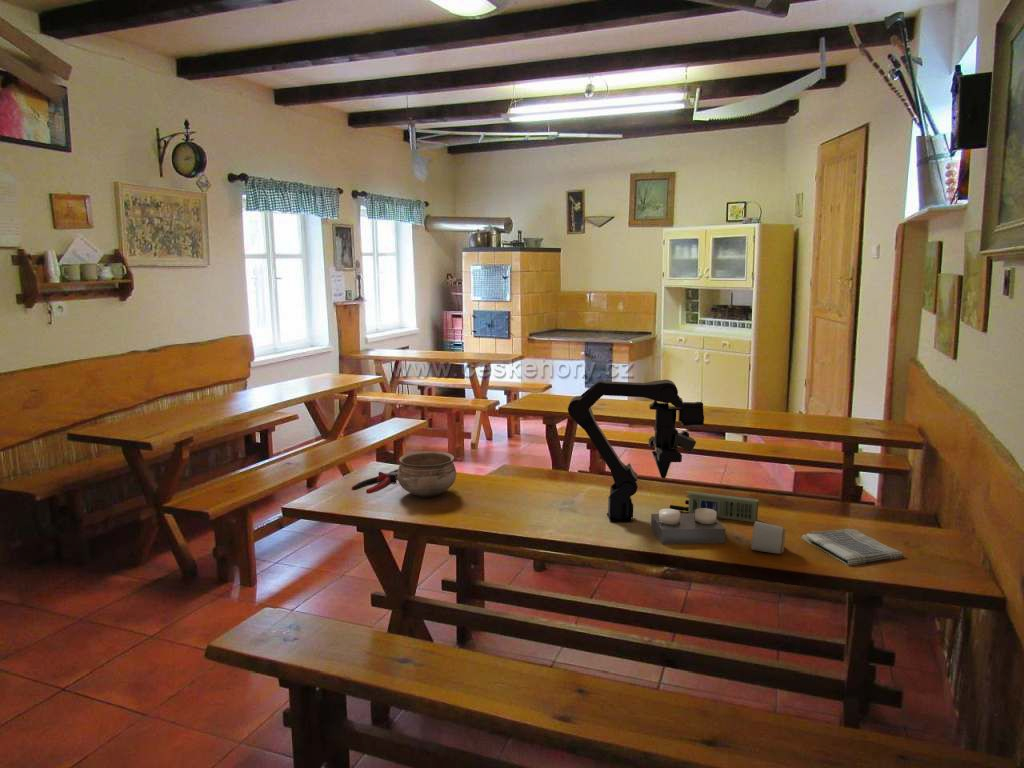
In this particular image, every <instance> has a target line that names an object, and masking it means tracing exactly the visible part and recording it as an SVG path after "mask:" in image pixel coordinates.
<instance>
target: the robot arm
mask: <svg viewBox="0 0 1024 768" xmlns="http://www.w3.org/2000/svg"><path fill="white" fill-rule="evenodd" d="M603 396H608V397H609V396H610V397H612V396H613V397H628V398H630V397H631V398H646V399H649V400H652V401H653V402H652V403H650V404H649V405H648V407H649V408H648V409H649V410H652V411H653V410H654V411H655V420H654V421H655V423H654V426H653V431H654V436H653V435H652V436H651V437H650V438H648V445H647V446H648V447H649V448H653V447H654V450H653V451H652V450H651V454H652V456H653V458H654V461H655V465H656V467H657V470H658V472H659V475H660V478H661V479H666V478H667V476H668V472H669V468H670V465H671V463H683V461H682V460H683V459H682V458H683V454H682V453H681V452H680V451H679V450H678V449H679V448H682V449H685V450H687V451H688V452H690V453H693V451H694V449H695V446H696V444H697V441H696V440H695V439H694V438H693V437H691V436H690V433H689V431H686V430H681V431H680V432H679V431H678V429H677V428H676V427H677V421H678V423H681V425H682V426H684V427H685V426H686V427H689V426H690V427H703V426H704V423H705V415H704V403H703V401H695V402H693V401H684V400H683V399H682V397H680V396H679V390H678V388H677V386H676V383H674V382H673V381H672V380H671V379H660V380H653V381H649V382H630V381H629V382H628V381H627V382H626V381H611V380H610V381H609V380H602V379H601V380H599V379H598V380H597V381H595V383H594V384H593V385H591V387H589V388H587V389H586V390H585V391H584V392H583V393H582V394H581V395H576V396H574V397H572V399H571V400H570V401H569V403H568V408H567V414H568V415H569V417H570V418H571V419H572V420H574V422H575V423H576V425H578V426H579V427H580V428H581V429H583V430H584V431H585V432H586V435H587V437H588V438H589V439H590V441H591V442H592V444H593V445H594V447H595V449H596V450H597V451H598V453H599V455H600V456H601V458H602V459H603V461H604V462H605V464H606V466H607V468H608V469H609V471H610V473H611V477H612V479H613V482H614V483H613V484H611V485H610V487H609V489H610V490H609V496H608V503H607V505H608V507H607V512H606V515H607V517H608V520H609V522H610V523H616V522H617V523H621V522H622V523H624V522H625V523H627V522H629V523H632V522H633V517H634V503H633V501H632V498H631V497H632V496H634V495H635V494H636V493H637V491H638V473H637V472H635V471H634V468H633V467H632V465H631V463H630V462H629V463H628V464H625V463H624V462H622V460H621V458H620V457H619V456H618V454H617V452H616V451H615V449H614V447H613V446H612V444H611V443H610V442H609V440H608V439H607V437H606V435H605V434H604V432H603V431H602V428H601V427H600V426H599V424H598V423H597V421H596V419H595V415H594V413H593V409H592V407H593V406H594V404H596V402H598V401H599V400H600V398H602V397H603ZM670 404H671V405H670ZM677 411H678V413H677ZM677 414H678V415H677ZM677 417H678V418H677ZM677 419H678V420H677Z"/></svg>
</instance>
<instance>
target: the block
mask: <svg viewBox="0 0 1024 768" xmlns="http://www.w3.org/2000/svg"><path fill="white" fill-rule="evenodd" d="M786 531H787V530H786V528H784V527H782V526H780V525H775V524H769V523H766V522H761V521H758V520H757V521H755V522H754V524H753V528H752V538H751V550H752V551H757V552H765V553H770V554H777V555H778V554H779V555H780V554H783V553H784V550H785V543H786Z"/></svg>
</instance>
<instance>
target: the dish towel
mask: <svg viewBox="0 0 1024 768" xmlns="http://www.w3.org/2000/svg"><path fill="white" fill-rule="evenodd" d="M802 539H803V540H804V542H805V541H806V542H805V543H807V542H808V543H809V545H810V544H812V545H814V546H816V547H817V548H816V547H815V548H816V549H818V548H819V549H821V550H823V551H824V552H823V551H822V552H823V553H825V552H826V553H825V554H827V553H828V554H829V555H828V554H827V555H828V556H830V555H831V556H830V557H832V556H833V557H832V558H834V557H835V558H836V560H837V559H838V560H837V561H839V560H840V561H839V562H841V563H843V564H844V563H845V564H844V565H846V566H847V567H849V566H850V567H851V566H857V565H863V564H865V565H866V564H870V563H877V562H885V561H893V560H899V559H903V558H904V557H905V556H904V552H903V551H901V550H897V549H895V548H893V547H890V546H888V545H886V544H884V543H881V542H880V541H879V540H876V539H874V538H872V537H870V536H867V535H866V534H864V533H862V532H860V531H859V530H858V529H856V528H855V529H853V528H845V529H843V528H841V529H837V530H834V529H830V530H829V529H828V530H821V531H816V530H815V531H809V533H807V534H803V535H801V540H802ZM803 540H802V541H803ZM808 543H807V544H808ZM812 545H811V546H812ZM814 546H813V547H814ZM819 549H818V550H819ZM821 550H820V551H821ZM835 558H834V559H835Z"/></svg>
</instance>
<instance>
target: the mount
mask: <svg viewBox="0 0 1024 768" xmlns="http://www.w3.org/2000/svg"><path fill="white" fill-rule="evenodd" d="M650 519H651V520H650V528H651V530H652V531H653V533H654V534H655V536H656V538H657V539H658V541H659V543H660V544H661V545H679V544H680V545H681V544H683V545H684V544H685V545H686V544H690V545H691V544H725V543H726V527H725V526H723V524H722V523H721V522H720V521H719V520H718V518H716V523H715V524H699V523H698V522H697V521H695V513H686V512H684V513H683V512H682V513H681V512H680V522H679V523H678V525H662V523H661V522H660V521H659V513H651V515H650Z"/></svg>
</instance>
